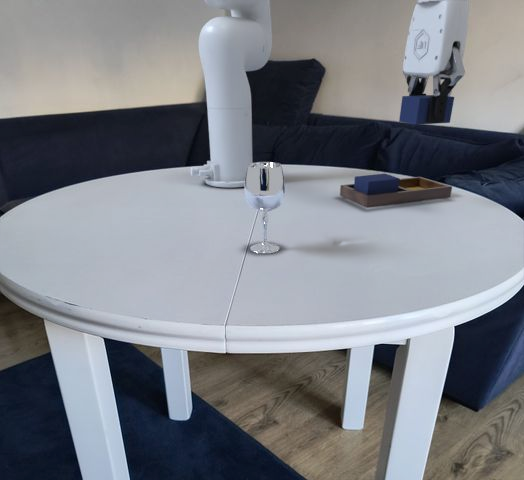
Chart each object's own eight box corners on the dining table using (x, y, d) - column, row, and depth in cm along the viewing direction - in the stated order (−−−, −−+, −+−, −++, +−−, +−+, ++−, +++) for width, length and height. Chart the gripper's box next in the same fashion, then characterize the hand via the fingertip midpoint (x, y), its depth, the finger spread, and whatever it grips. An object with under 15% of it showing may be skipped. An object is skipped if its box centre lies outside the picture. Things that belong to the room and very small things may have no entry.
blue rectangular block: (415, 124, 82) (419, 98, 79) (398, 121, 86) (402, 96, 83) (450, 122, 84) (454, 96, 82) (431, 119, 88) (435, 94, 86)
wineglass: (245, 242, 75) (243, 161, 69) (281, 241, 76) (282, 160, 70) (246, 255, 71) (244, 169, 64) (286, 254, 71) (287, 168, 65)
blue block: (366, 203, 93) (368, 181, 91) (352, 197, 97) (354, 176, 95) (397, 199, 95) (399, 178, 93) (382, 193, 99) (385, 173, 97)
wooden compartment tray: (449, 199, 97) (452, 186, 95) (366, 210, 91) (367, 196, 89) (418, 189, 105) (420, 176, 103) (339, 198, 99) (340, 185, 97)
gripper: (392, -4, 81) (379, 116, 90) (461, -16, 67) (437, 127, 77) (429, -3, 83) (413, 115, 92) (504, -14, 69) (475, 125, 79)
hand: (424, 119), depth 84 cm, fingers closed on blue rectangular block, 5 cm apart
